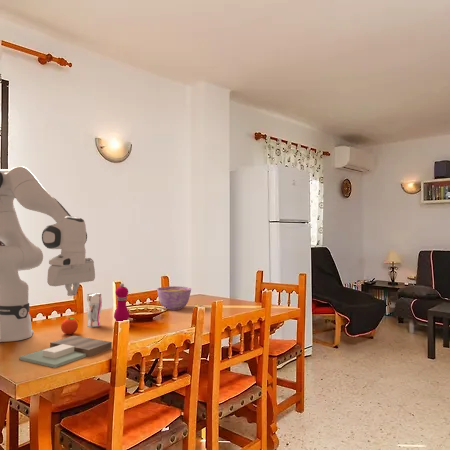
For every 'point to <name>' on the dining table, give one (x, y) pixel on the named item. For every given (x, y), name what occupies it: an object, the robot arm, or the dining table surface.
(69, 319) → the tomato
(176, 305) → the bowl of food
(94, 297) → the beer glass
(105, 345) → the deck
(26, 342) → the dining table surface
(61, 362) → the mat
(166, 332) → the dining table surface
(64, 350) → the white rectangular block
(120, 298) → the pepper mill
